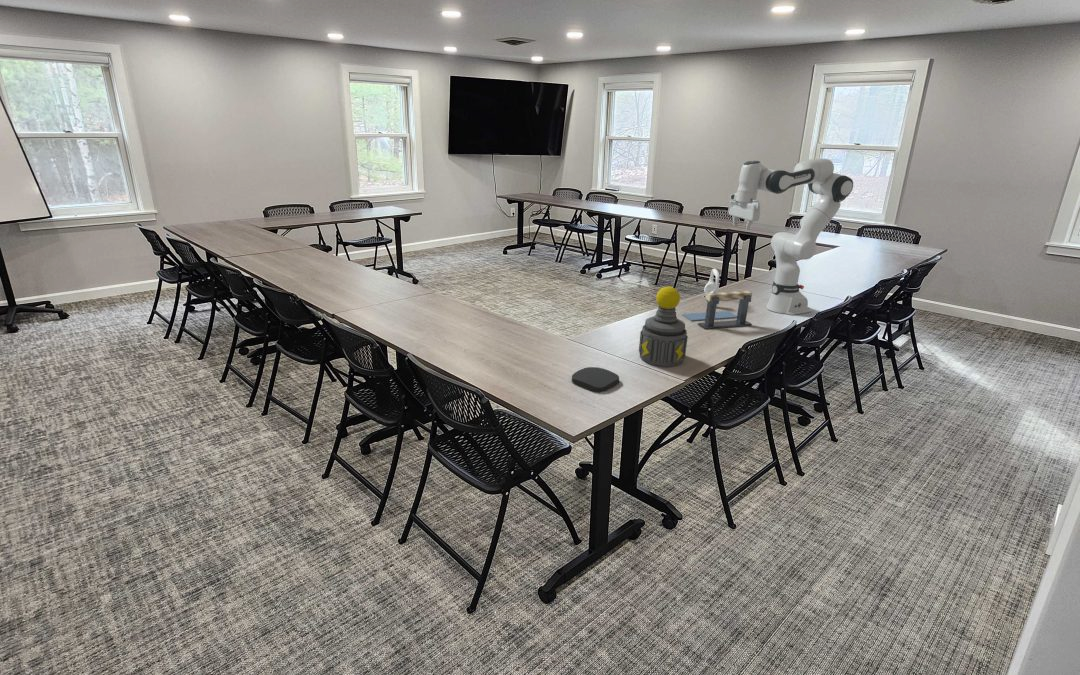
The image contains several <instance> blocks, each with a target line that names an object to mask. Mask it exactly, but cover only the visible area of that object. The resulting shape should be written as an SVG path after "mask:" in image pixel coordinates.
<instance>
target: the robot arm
mask: <svg viewBox="0 0 1080 675" xmlns="http://www.w3.org/2000/svg"><path fill="white" fill-rule="evenodd" d="M834 169H835V165H834V163H833V161H832V160H830V159H829V158H813V159H807V160H802V161H800V162H798V163H797V164H796V165H795V166H794V168H793V171H792V172H791V171H790V172H789V171H787V170H783V169H782V170H781V169H780V170H779V169H771V168H767V167H766V166H764V165H763V164H762V163H761V161H759V160H748V161H746V162H744V163H743V164H742V167H741V169H740V172H739V173H740V174H739V177H738V188H737V189H736V190H737V191H736V192H735V193H731V194H730V196H729V199H730V200H729V204H728V210H727V211H728V215H729V216H732V221H733V224H732V225H733V226H734V227H738V226H739V222H738V220H739V219H743V220H746V225H744V230H746V231H750V230H751V226H752V225H753V223H754V222H759V220H760V218H761V217H760V215H761V206H760V205H761V204H760V203H759V200H757V196H758V190H759V191H764V192H770V193H772V194H776V195H777V194H782V193H784V192H786V191H787V190H789V189H791V188H793V187H796V186H802V185H808V190H809V191H810V192H811V193H813V194H815V195H820V197H819V199H818V201H817V202H815V203H814V205H813V206H812V207H811V208H810V209H809V210H808V211H807V212H806V213H805V214H804V216H803V217H801V219H800V220H799V226H800V229H799V231H798V232H797V233H791V232H789V231H781V232H777V233H776V232H775V234H774V235H773V236H772V237H771V240H770V246H771V248H772V250H773V252H774V255H775V264H776V268H775V276H774V279H773V280H774V281H773V283H772V286H771V294H770V297H769V300H768V302H767V305H766V306H765V307H766V309H767V310H769V311H771V312H774V313H779V314H783V315H785V314H786V315H790V316H795V315H800V314H805V313H806V314H807V313H812V312H813V309H812V308H810V307H809V306H808V305H809V301H808V298H807V297H806V296H805V295H804V294H802V292H801V291H800V290H803V289H805V286H804V285H802V284H798V282H799V279H800V278H799V277H800V274H801V268H800V266H799V264H798V263H797V260H810V259H812V258H813V257H814V256H815V254H816V251H817V244H816V243H817V239H818V237H819V235H821V234H820V233H822V231H823V230H824V229H825V227H826V226H827V225H828V224H829V223H830V222H831V221H832V219H833V218H834V217H835V216H836V214H837V213H838V212H839V209H840V208H841V202H843V201H844V200H846V198H847V197H848V196H849V195H850V194H851V193H852V191H853V189H854V181H853V179H852V178H851V177H849V176H847V175H845V174H843V175H842V174H839V173H835V172H834V171H835V170H834Z"/></svg>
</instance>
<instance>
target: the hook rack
mask: <svg viewBox="0 0 1080 675" xmlns="http://www.w3.org/2000/svg"><path fill="white" fill-rule="evenodd" d="M752 296H753V295H752ZM752 296H751V295H745V297H744V299H741V300H738V301H739V302H738V307H737V308H738V309H737V314H736V316H737V318H735V320H720V321H715V320H716V319H715V312H717V306H718V305H719V304H720V302H719V297H712V301H708V300H706V299H705V301H706V302H707V303H706V311H705V313H706V317H705V320H704V322H698V323H697V326H699V327H700V328H701V329H703V330H712V329H713V330H714V329H725V328H739V327H740V328H741V327H751V326H752V324H753V323H751V322H749V321H748V320H747V316H748V309H749V303H751V302H752ZM714 319H715V320H714Z"/></svg>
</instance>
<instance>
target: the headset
mask: <svg viewBox="0 0 1080 675" xmlns="http://www.w3.org/2000/svg"><path fill="white" fill-rule="evenodd" d="M714 276H715V281H714ZM719 284H720V273H719V271H718V269H717V268H712V269H711V271H710V276H709V280H708V281H707V283H706V284H705V286H704V287H703V289H704V290H703V292H704V293H705V294H703V296H702V295H701V297H702V298H706V296H707V293H721V292H720V290H719ZM704 296H705V297H704ZM720 302H721V301H719V303H720Z"/></svg>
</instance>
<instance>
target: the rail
mask: <svg viewBox="0 0 1080 675" xmlns="http://www.w3.org/2000/svg"><path fill="white" fill-rule="evenodd" d="M745 295H751V296H753V292H751V291H749V290H741V291H740V290H739V291H727V292H725V291H724V292H723V291H722V292H720V293H707V296H706V297H705V301H706V300H708V301H712V297H719V301H720V302H722V301H737V300H738V301H740V300H741V299H744V297H745ZM708 301H707V302H708Z"/></svg>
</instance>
